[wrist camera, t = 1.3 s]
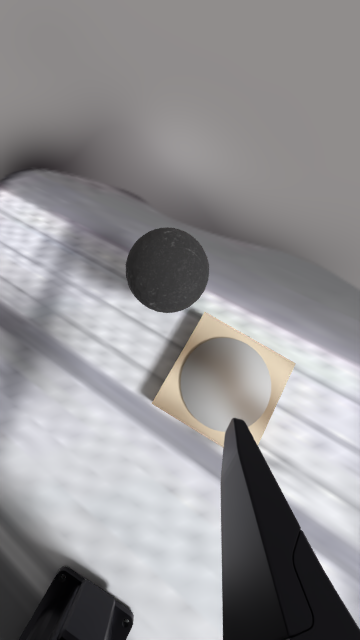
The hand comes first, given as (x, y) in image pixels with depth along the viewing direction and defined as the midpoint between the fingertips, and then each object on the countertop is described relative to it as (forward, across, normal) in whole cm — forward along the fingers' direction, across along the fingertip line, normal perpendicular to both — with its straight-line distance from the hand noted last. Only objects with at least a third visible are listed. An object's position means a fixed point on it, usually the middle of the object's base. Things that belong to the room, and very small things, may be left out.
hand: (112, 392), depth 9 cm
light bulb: (+15, 0, +4) cm, 16 cm away
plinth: (+11, -6, +8) cm, 15 cm away
